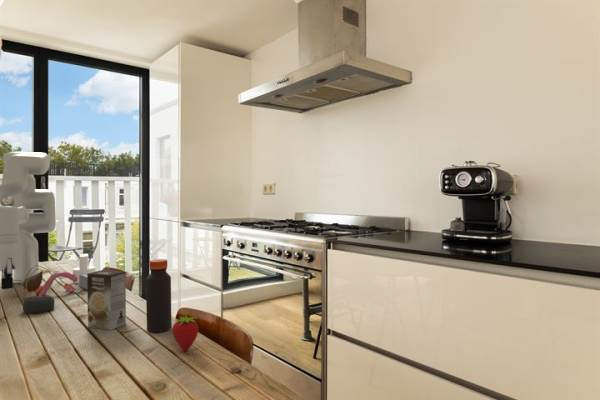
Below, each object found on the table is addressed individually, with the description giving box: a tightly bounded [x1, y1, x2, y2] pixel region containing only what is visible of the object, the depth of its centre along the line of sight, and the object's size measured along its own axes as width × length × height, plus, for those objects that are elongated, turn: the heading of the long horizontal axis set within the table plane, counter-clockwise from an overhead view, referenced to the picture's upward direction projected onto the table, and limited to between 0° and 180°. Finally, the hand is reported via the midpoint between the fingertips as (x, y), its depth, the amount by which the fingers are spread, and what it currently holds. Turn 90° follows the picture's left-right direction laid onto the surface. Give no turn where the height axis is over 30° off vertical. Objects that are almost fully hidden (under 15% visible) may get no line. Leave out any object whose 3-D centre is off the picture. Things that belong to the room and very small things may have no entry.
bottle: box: [145, 258, 173, 334], centre depth 110 cm, size 7×7×20 cm
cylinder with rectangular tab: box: [72, 253, 96, 284], centre depth 176 cm, size 9×9×12 cm
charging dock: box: [78, 274, 87, 291], centre depth 161 cm, size 15×2×5 cm, turn 46°
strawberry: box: [172, 311, 199, 352], centre depth 94 cm, size 6×8×10 cm
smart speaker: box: [22, 296, 55, 315], centre depth 130 cm, size 9×9×4 cm
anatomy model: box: [21, 265, 77, 297], centre depth 153 cm, size 11×15×17 cm
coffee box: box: [86, 269, 127, 331], centre depth 114 cm, size 9×6×16 cm
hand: (7, 288), depth 142 cm, fingers closed
